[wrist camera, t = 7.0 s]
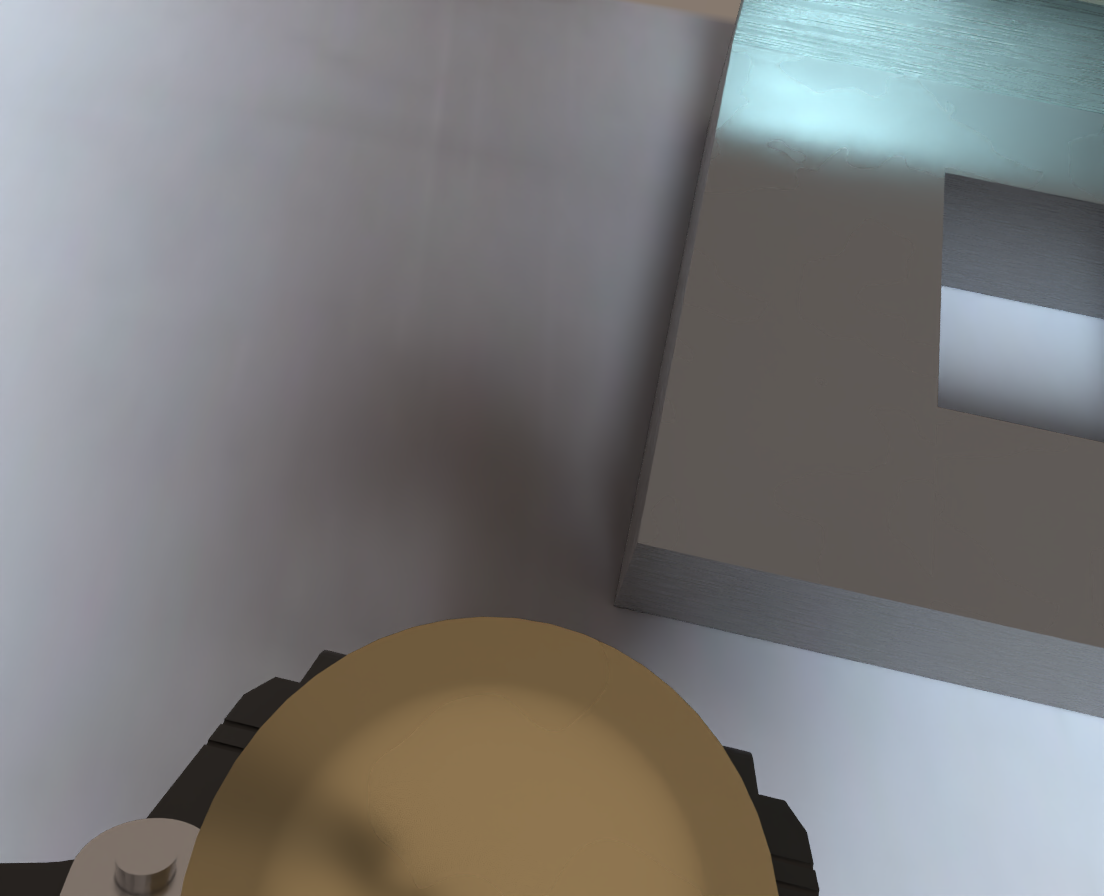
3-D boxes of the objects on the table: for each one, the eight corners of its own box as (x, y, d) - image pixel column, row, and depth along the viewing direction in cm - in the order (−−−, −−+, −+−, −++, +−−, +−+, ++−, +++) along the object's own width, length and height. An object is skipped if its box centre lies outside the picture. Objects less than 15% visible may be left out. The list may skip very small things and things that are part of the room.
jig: (614, 605, 19) (660, 480, 13) (709, 120, 25) (766, -94, 20) (1420, 790, 18) (1811, 735, 13) (1307, 241, 24) (1535, 50, 19)
